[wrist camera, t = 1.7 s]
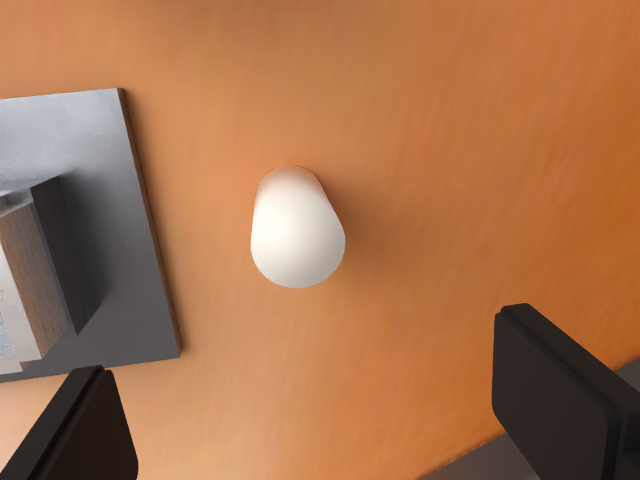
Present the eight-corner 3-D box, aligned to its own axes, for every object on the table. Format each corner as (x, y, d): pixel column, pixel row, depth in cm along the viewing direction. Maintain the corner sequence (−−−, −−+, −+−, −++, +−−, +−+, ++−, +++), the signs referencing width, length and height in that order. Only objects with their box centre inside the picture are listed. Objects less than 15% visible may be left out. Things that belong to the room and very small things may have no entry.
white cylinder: (320, 161, 26) (341, 193, 18) (326, 226, 27) (348, 281, 20) (251, 169, 26) (244, 205, 18) (260, 235, 27) (257, 293, 19)
